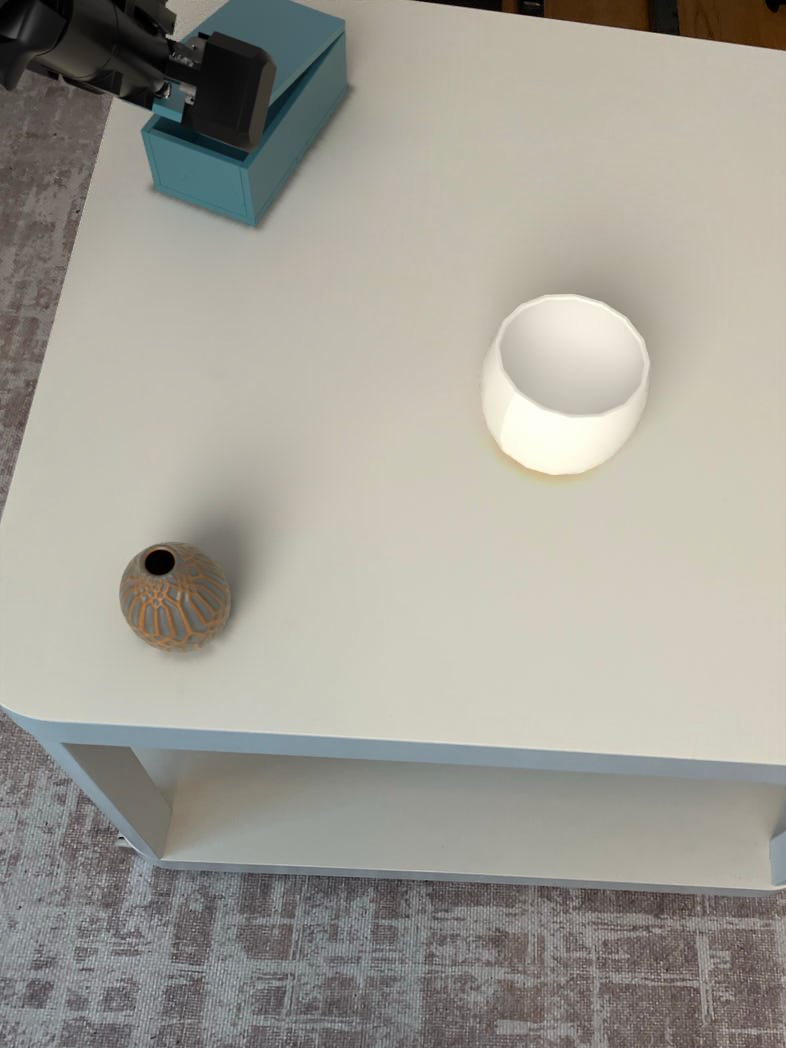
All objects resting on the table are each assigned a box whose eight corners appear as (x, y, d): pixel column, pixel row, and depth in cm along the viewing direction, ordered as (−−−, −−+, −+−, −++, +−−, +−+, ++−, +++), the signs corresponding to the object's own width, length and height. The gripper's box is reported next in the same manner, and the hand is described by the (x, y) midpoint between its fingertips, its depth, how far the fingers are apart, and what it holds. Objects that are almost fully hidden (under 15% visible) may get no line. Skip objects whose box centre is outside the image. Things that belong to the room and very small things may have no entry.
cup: (655, 448, 73) (693, 368, 64) (545, 530, 69) (570, 457, 60) (551, 349, 76) (575, 261, 67) (440, 423, 72) (450, 338, 63)
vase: (255, 601, 64) (239, 541, 56) (203, 682, 62) (178, 631, 54) (170, 560, 65) (141, 495, 57) (114, 639, 62) (76, 582, 54)
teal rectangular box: (255, 227, 78) (247, 169, 73) (155, 189, 78) (139, 130, 73) (347, 90, 86) (345, 30, 80) (255, 57, 86) (248, -6, 81)
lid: (233, 142, 69) (230, 88, 66) (121, 101, 69) (111, 45, 66) (345, 29, 80) (347, -22, 77) (247, -6, 81) (245, -58, 77)
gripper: (247, -79, 52) (333, 12, 66) (-49, -186, 53) (101, -73, 67) (204, 130, 56) (294, 173, 70) (-71, 28, 56) (75, 91, 71)
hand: (193, 88), depth 70 cm, fingers closed on lid, 5 cm apart
